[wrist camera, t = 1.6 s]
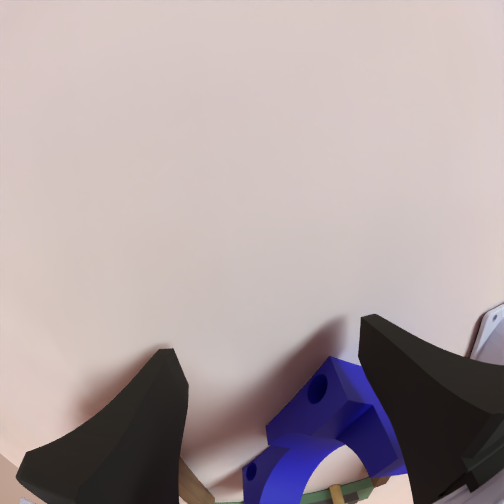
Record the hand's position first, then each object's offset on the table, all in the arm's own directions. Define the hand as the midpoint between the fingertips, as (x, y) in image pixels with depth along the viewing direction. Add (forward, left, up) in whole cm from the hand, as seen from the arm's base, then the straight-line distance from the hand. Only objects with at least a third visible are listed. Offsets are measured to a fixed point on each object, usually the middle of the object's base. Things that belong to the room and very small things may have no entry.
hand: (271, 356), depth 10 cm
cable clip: (-1, +8, -2) cm, 8 cm away
